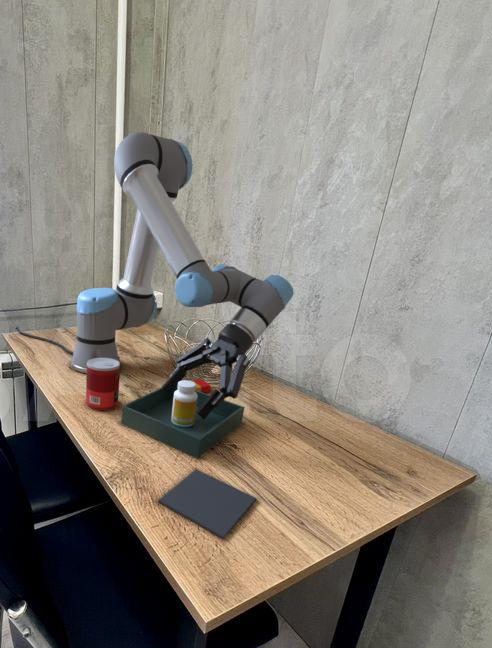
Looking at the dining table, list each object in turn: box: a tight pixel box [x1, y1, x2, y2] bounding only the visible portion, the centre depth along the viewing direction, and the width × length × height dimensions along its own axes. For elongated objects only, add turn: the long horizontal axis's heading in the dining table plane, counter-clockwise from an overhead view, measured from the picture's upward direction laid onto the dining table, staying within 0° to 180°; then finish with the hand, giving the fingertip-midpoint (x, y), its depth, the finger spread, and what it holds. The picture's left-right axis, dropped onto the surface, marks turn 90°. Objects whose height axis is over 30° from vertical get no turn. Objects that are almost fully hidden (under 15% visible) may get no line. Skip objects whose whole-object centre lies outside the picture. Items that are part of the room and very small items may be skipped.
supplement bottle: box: [171, 379, 198, 427], centre depth 91 cm, size 5×5×10 cm
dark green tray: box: [120, 385, 245, 459], centre depth 92 cm, size 20×20×4 cm
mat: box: [158, 468, 257, 540], centre depth 67 cm, size 12×12×1 cm
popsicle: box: [188, 378, 212, 393], centre depth 110 cm, size 6×15×2 cm, turn 114°
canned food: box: [85, 358, 121, 411], centre depth 98 cm, size 8×8×11 cm
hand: (181, 403), depth 90 cm, fingers open, 13 cm apart
